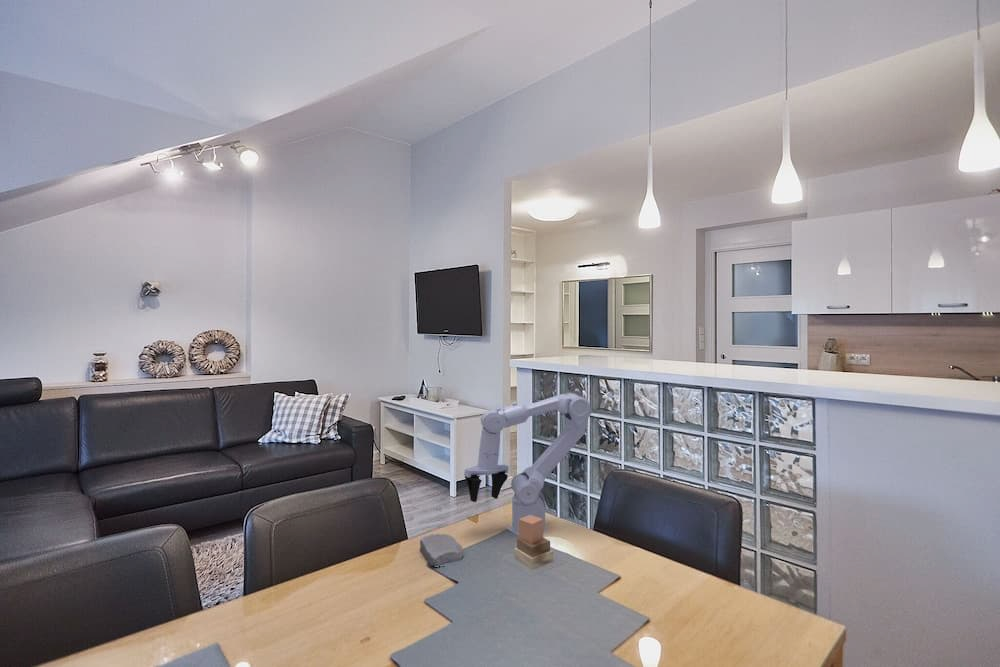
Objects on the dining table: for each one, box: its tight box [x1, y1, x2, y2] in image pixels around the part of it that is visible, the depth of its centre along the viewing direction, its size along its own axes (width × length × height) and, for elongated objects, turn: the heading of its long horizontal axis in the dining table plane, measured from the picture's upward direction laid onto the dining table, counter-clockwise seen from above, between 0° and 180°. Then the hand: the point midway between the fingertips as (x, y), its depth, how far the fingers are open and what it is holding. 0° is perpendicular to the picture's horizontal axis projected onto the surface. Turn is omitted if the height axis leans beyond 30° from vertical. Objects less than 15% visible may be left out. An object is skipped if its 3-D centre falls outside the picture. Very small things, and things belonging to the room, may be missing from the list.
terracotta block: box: [518, 515, 544, 544], centre depth 127 cm, size 4×4×5 cm
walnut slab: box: [516, 537, 551, 557], centre depth 126 cm, size 6×6×2 cm
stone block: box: [419, 533, 464, 568], centre depth 130 cm, size 12×5×10 cm
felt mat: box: [500, 552, 567, 577], centre depth 126 cm, size 12×12×1 cm
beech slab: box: [513, 547, 554, 569], centre depth 126 cm, size 7×7×2 cm
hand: (484, 499), depth 143 cm, fingers open, 7 cm apart
